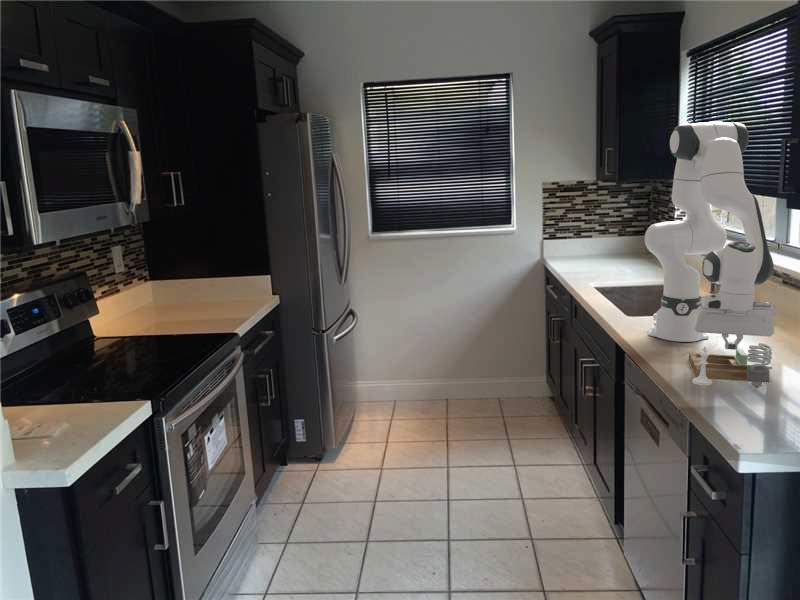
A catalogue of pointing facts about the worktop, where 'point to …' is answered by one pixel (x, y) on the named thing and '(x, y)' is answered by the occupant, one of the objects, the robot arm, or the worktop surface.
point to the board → (719, 367)
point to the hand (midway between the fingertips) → (730, 348)
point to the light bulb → (759, 371)
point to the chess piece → (703, 371)
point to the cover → (742, 359)
